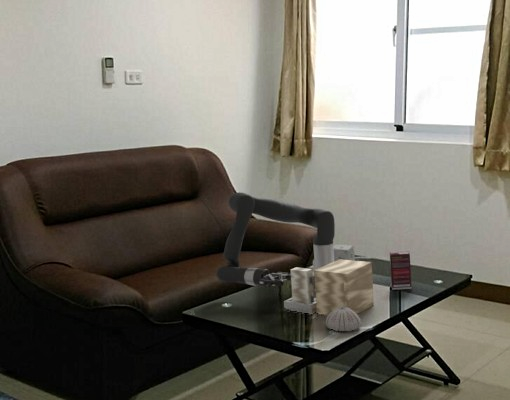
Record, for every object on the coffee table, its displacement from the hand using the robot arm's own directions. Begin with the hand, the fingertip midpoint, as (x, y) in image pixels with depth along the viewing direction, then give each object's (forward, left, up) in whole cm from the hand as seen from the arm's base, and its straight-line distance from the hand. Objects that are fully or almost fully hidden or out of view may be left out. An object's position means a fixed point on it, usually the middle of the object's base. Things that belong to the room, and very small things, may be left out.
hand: (288, 280), depth 329 cm
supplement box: (+29, +44, -12) cm, 54 cm away
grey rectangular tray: (+7, 0, -11) cm, 13 cm away
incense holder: (-15, +69, -12) cm, 72 cm away
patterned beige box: (+21, +7, -11) cm, 25 cm away
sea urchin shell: (+34, -14, -12) cm, 38 cm away
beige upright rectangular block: (+7, 0, -10) cm, 12 cm away
